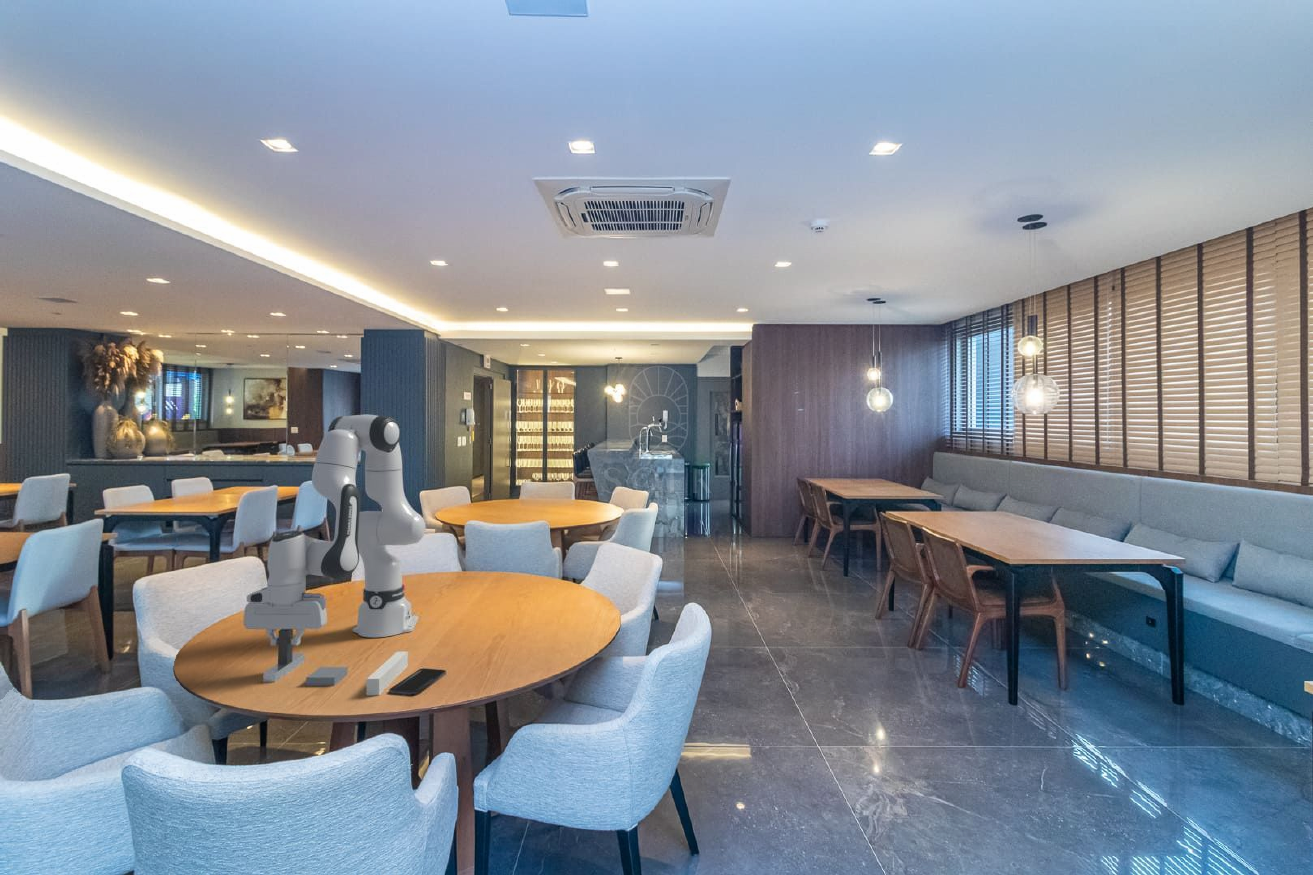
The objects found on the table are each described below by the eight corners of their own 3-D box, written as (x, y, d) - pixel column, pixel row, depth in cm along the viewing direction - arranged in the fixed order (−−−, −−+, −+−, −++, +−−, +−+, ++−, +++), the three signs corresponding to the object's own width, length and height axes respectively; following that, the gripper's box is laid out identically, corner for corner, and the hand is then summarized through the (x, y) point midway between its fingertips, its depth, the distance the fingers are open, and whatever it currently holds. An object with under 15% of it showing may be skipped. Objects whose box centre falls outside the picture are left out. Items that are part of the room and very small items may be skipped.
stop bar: (396, 666, 165) (396, 651, 165) (407, 666, 165) (407, 651, 165) (366, 695, 146) (366, 678, 146) (378, 695, 146) (379, 678, 146)
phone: (387, 690, 147) (421, 667, 162) (386, 695, 147) (421, 671, 162) (416, 693, 146) (448, 670, 160) (416, 697, 146) (448, 674, 160)
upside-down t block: (293, 662, 167) (294, 621, 167) (304, 662, 167) (305, 621, 167) (263, 682, 153) (264, 637, 153) (275, 682, 153) (276, 637, 153)
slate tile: (320, 676, 158) (320, 666, 158) (347, 676, 158) (347, 667, 158) (306, 687, 151) (306, 677, 151) (334, 687, 151) (334, 677, 151)
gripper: (332, 590, 164) (331, 640, 163) (255, 590, 163) (254, 640, 162) (320, 596, 157) (319, 648, 157) (240, 596, 156) (239, 648, 156)
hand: (285, 644), depth 160 cm, fingers open, 4 cm apart
